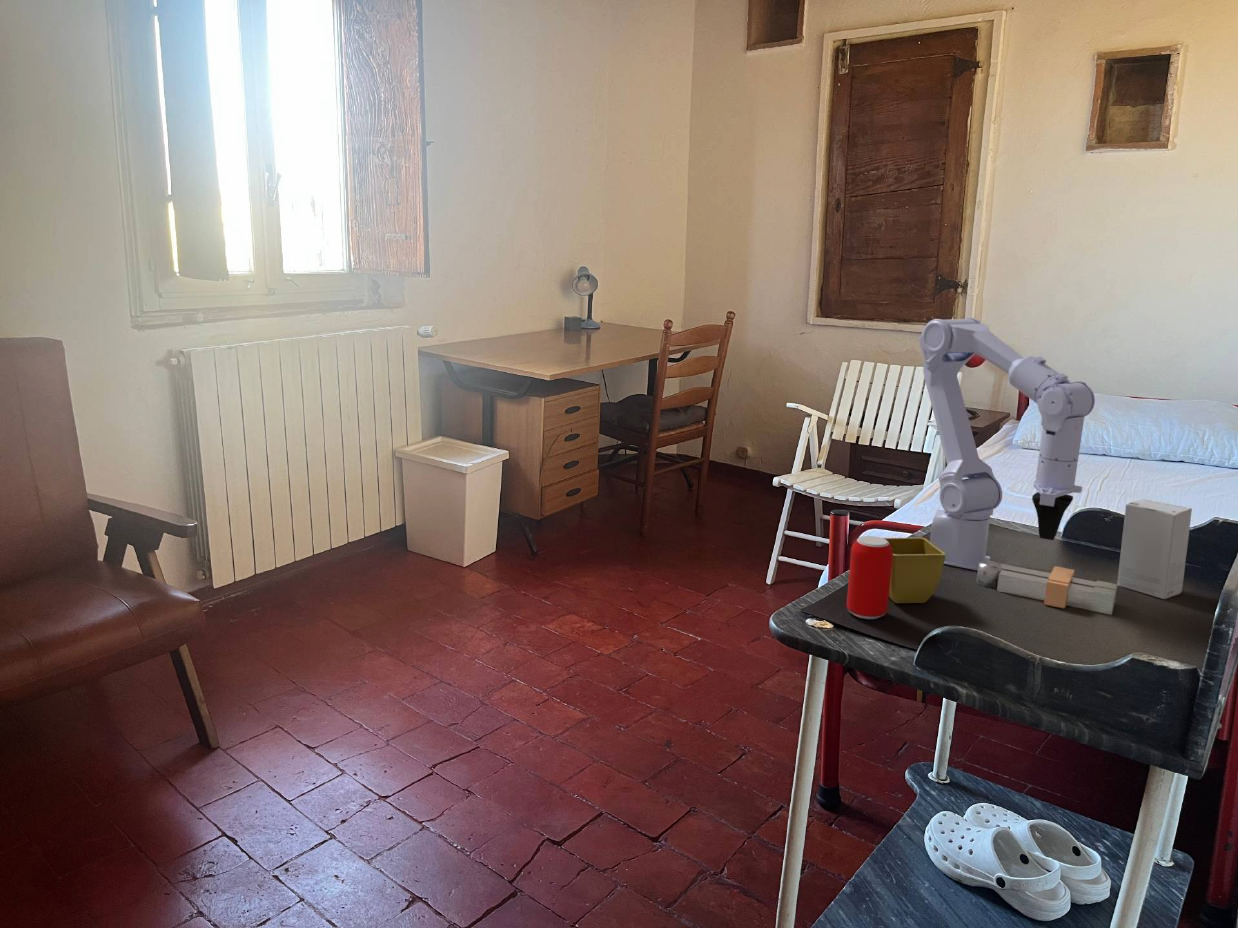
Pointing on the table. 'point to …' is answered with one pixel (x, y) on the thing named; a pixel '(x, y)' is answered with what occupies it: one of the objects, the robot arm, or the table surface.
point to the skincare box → (1154, 548)
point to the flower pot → (914, 569)
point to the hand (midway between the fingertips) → (1047, 538)
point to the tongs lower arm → (1076, 597)
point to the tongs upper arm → (991, 570)
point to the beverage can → (869, 577)
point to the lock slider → (1058, 587)
